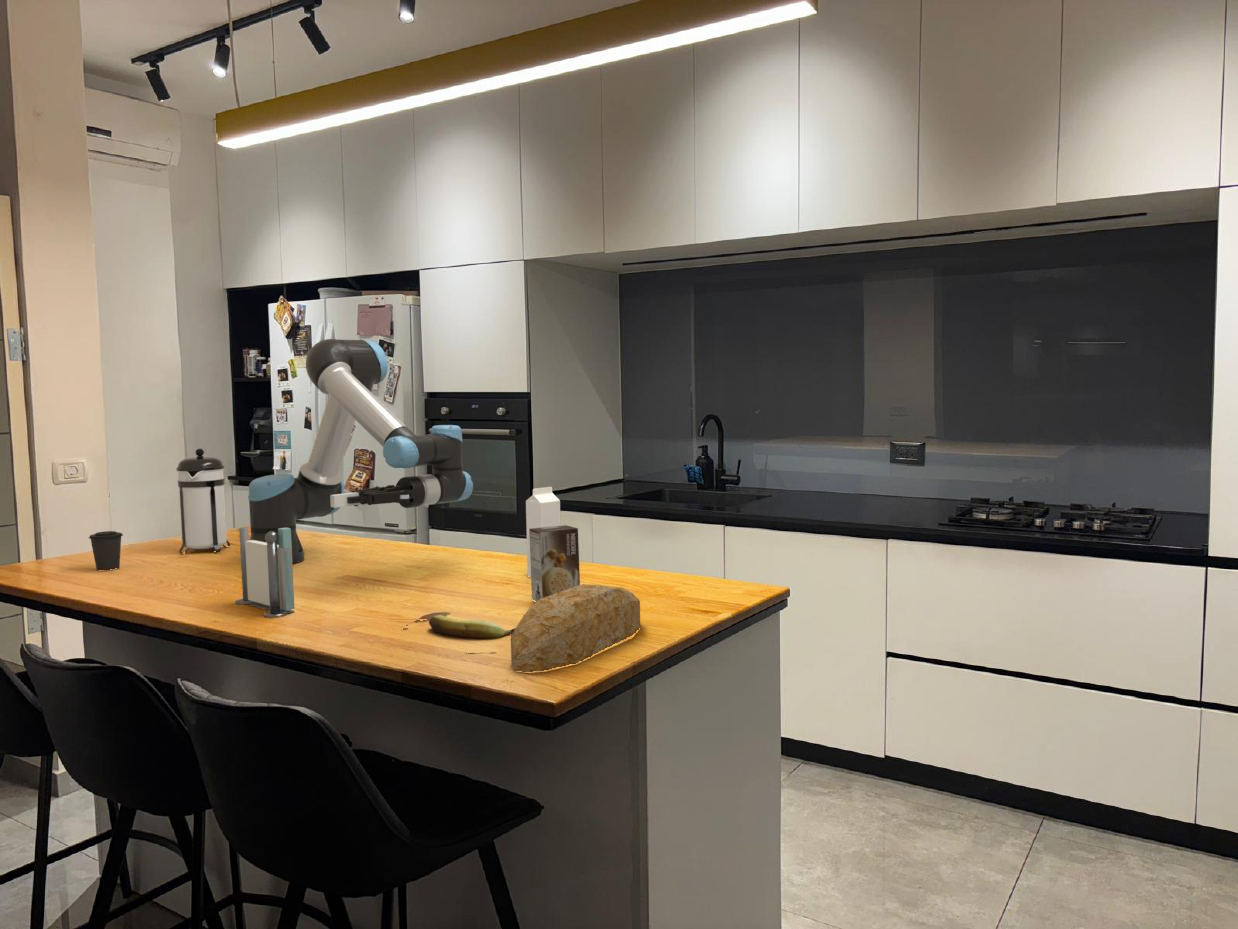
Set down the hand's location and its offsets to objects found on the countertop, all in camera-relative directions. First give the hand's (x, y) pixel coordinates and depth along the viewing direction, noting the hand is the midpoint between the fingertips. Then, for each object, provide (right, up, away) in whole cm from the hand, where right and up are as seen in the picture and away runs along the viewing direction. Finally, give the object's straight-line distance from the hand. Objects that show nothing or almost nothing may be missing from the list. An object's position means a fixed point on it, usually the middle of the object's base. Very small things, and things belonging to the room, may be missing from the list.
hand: (332, 501), depth 213 cm
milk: (+46, -19, +18) cm, 53 cm away
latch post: (-7, -23, -16) cm, 29 cm away
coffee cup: (-71, -20, +39) cm, 83 cm away
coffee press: (-57, -17, +66) cm, 89 cm away
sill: (-12, -22, -8) cm, 27 cm away
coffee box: (+51, -22, -7) cm, 56 cm away
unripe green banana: (+36, -25, -33) cm, 55 cm away
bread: (+58, -25, -43) cm, 76 cm away
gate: (-11, -22, -9) cm, 26 cm away
